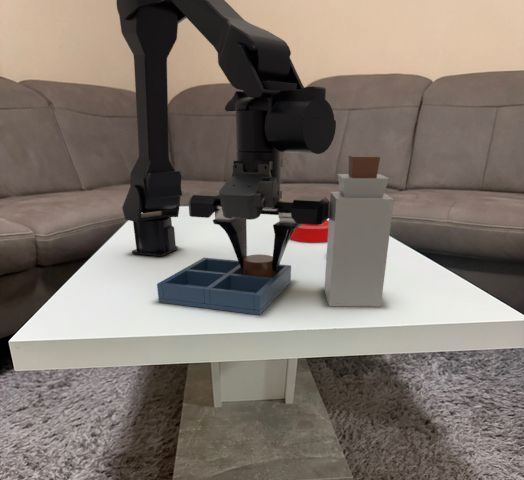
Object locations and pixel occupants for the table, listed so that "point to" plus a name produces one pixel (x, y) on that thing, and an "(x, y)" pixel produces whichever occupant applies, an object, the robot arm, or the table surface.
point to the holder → (223, 287)
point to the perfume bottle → (358, 235)
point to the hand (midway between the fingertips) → (258, 268)
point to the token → (258, 265)
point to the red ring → (311, 233)
